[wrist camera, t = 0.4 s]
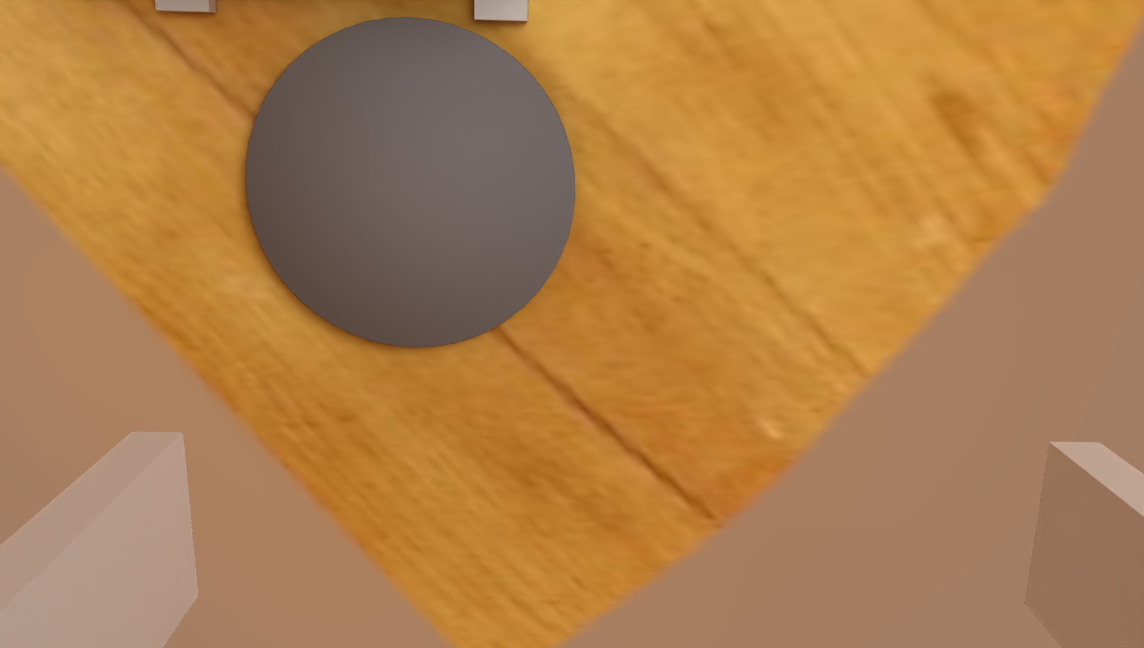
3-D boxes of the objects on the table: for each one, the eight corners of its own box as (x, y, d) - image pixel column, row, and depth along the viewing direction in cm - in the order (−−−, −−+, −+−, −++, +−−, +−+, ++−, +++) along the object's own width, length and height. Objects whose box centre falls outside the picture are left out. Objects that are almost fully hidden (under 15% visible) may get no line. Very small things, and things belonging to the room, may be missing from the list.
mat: (242, 13, 38) (235, 12, 37) (579, 23, 38) (579, 22, 37) (260, 338, 41) (254, 343, 40) (570, 345, 41) (570, 351, 40)
